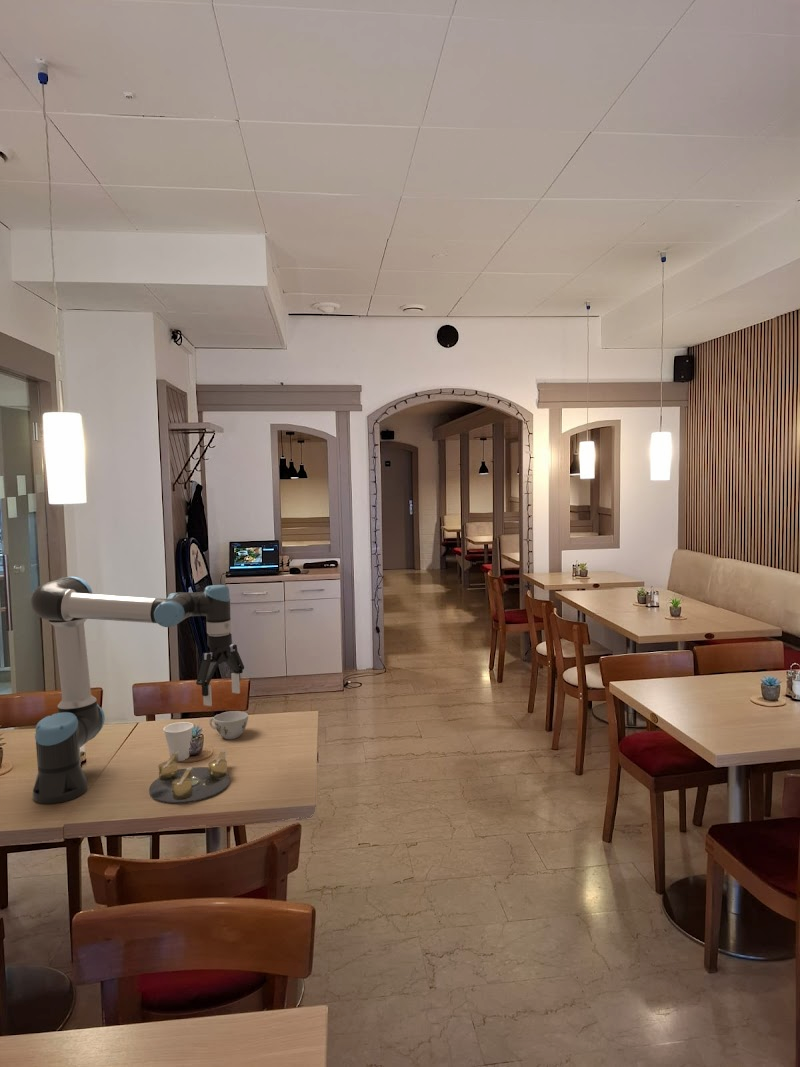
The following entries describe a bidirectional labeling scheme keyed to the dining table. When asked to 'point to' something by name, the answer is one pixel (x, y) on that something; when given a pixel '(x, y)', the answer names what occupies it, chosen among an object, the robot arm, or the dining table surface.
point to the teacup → (230, 723)
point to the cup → (179, 738)
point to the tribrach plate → (200, 787)
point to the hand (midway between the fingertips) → (222, 699)
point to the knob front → (183, 785)
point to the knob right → (218, 766)
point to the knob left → (169, 768)
